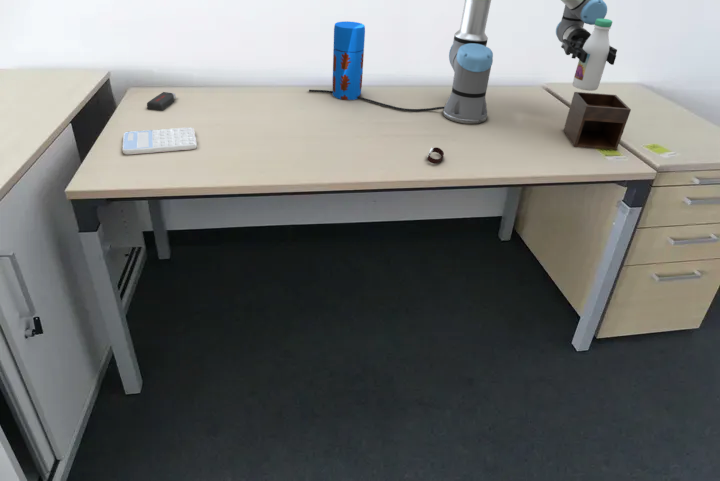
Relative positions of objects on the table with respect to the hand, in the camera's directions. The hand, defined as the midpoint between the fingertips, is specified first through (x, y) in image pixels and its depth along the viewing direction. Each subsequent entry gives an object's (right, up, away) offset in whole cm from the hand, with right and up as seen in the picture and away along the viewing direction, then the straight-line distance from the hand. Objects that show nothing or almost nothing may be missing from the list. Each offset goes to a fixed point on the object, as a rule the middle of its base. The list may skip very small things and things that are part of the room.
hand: (599, 59), depth 157 cm
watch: (-49, -30, 0) cm, 57 cm away
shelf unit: (+5, -20, +19) cm, 28 cm away
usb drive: (-138, -7, +24) cm, 140 cm away
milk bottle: (0, -6, +10) cm, 11 cm away
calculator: (-129, -25, -1) cm, 132 cm away
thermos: (-76, +1, +42) cm, 87 cm away
